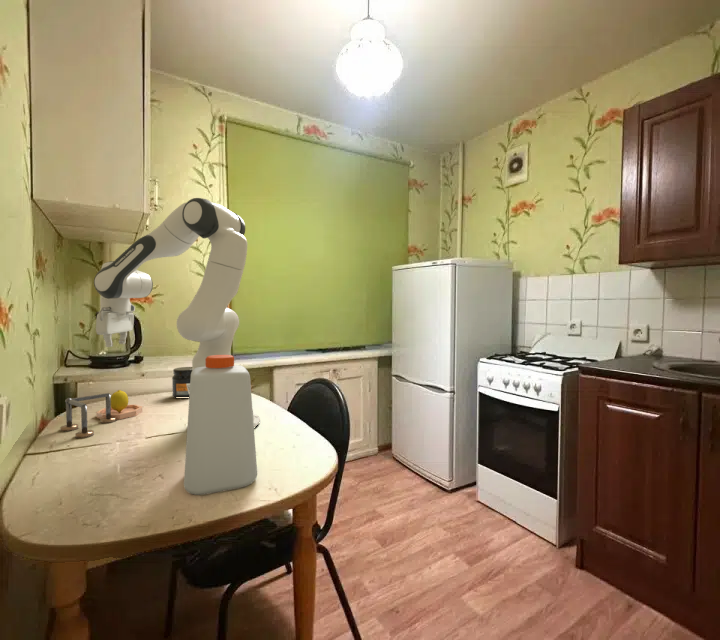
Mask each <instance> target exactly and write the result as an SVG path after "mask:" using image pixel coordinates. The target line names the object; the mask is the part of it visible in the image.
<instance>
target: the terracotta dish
mask: <svg viewBox="0 0 720 640" xmlns="http://www.w3.org/2000/svg"><path fill="white" fill-rule="evenodd" d="M139 413H140V414H141V413H143V406H141V405H138V404H136V403H135V404H134V403H133V404H128V405H127V407H126V408H125V409H123V410H122V411H121V412H118V411H116V410H113V409H112V408H111V417H116V421H117V420H122V419H128V417H129V418H133V417H136V416H138V415H140V414H139ZM95 414H96V418H97V419H99V420H101V419H102V418H105V417H106V407H103V408H101V409H100V410H98V411H96V412H95Z"/></svg>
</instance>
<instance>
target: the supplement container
mask: <svg viewBox="0 0 720 640" xmlns="http://www.w3.org/2000/svg"><path fill="white" fill-rule="evenodd" d="M172 371H173V376H171V380H172V383H171V385H172V386H171V387H172V394H171V395H172V397H173V396H174V397H189V395H190V380H191V372H192V366H183V367H182V366H181V367H176V368H173V370H172ZM174 397H173V398H174Z"/></svg>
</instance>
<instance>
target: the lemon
mask: <svg viewBox="0 0 720 640" xmlns="http://www.w3.org/2000/svg"><path fill="white" fill-rule="evenodd" d="M127 405H129V395H128V393H126V392H125V391H123V390H121V389H118V390H116V391H115V392H113V393H112V394H111V408H112V409H113V410H116V411H118V412H121V411H122V410H123V409H125V408H126V407H127Z"/></svg>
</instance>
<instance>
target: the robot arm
mask: <svg viewBox="0 0 720 640" xmlns="http://www.w3.org/2000/svg"><path fill="white" fill-rule="evenodd" d="M245 234H246V223H245V221H244V219H243V218H242V217H241V216H240V215H238V214H237V213H236V212H233V211H231V210H230V209H228V208H226V207H224V206H223V205H221V204H219V203H216V202H214V201H210V200H209V199H206V198H202V197H195V198H194V197H193V198H191V199H190V200H189V199H188V201H186V202H183V203H182V204H180V205H179V206H178V207H176V208H175V209H174V210H173V211H171V212H170V213H169V215H168V216H167V217H166V218H165V219H164V220H163V221H162V222H161V224H160V225H159V226H157V227H156V228H155V229H153V230H152V231H151V232H149V233H147V234H146V235H144V236H142V237H140V238H138V239H136V241H134V242H133V243H132V244H131V245H130V246H129V247H128V248H127V249H125V251H124V252H123V253H121V254H120V255H119V256H118V257H117V258H115V260H113V261H112V260H111V261H107V262H104V263H102V265H101V269H100V270H99V271H97V273H96V274H95V277H94V280H93V284H94V285H93V287H94V288H95V290H96V292H97V293H98V294H99V295H100V298H99V299H100V300H99V301H100V302H99V303H100V310H99V312H98V313H97V315H96V318H95V319H96V321H95V322H96V323H95V333H96V335H99V336H100V335H101V336H102V337H103V339H104V342H105V347H106V348H112V347H114V341H113V339H112V337H113V335H114V334H119V339H118V345H124V344H126V340H127V337H128V332H131V331H133V329H134V325H135V324H134V322H135V316H134V313H135V311H136V306H135V305H134V304H132V303H131V299H141V298H146V297H149V296H150V295H151V293H152V291H153V289H154V283H153V279H152V277H151V276H150V275H149V273H147V272H144V271H140V270H138V269H139V268H140V267H141V266H142V265H143V264H145V263H146V262H148V261H151V260H154V259H160V258H161V259H162V258H172V257H178V256H180V255H183V254H184V253H185V252H186V251H188V250H189V249H190V248H191V247H192V246H193V244H194V243H195V242H196V241H197V240H198V239H199V238H201V239H208V240H209V243H210V245H211V247H210V252H209V255H208V259H207V262H206V263H207V264H206V266H205V270H204V273H203V277H202V280H201V284H200V285H199V287H198V290H197V292H196V293H195V295H194V296H193V297H192V298H193V299H192V300H191V301H190V303H189V304H188V306H187V307H186V308H185V309H184V310H183V311H181V312H180V314H179V315H178V316H177V319H176V329H177V332H178V333H179V335H180V337H182V338H183V339H185V340H188V341H191V342H199V346H198V348H197V351H196V353H195V354H194V356H193V357H192V360H191V367H192V371H193V370H194V369H195V368H198V367H206V357H208V356H212V355H231V349H232V344H233V341H234V336H235V334H236V331H238V328H239V327H240V318H239V316H238V314H237V312H235V311H234V310H233V309H231V308H229V307H228V306H229V304H230V303H231V302H232V300H233V298H235V297H236V295H237V294H238V291H239V288H240V283H241V281H242V277H243V274H244V269H245V266H246V260H247V254H248V241H247V238H246V237H245ZM253 422H254V427H256V426H257V425H258V424H259V422H260V423H261V417H260V416H259V415H257V414H254V413H253ZM259 425H260V424H259ZM259 425H258V426H259ZM258 426H257V427H258ZM187 427H188V425H187ZM257 427H256V428H257Z"/></svg>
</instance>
